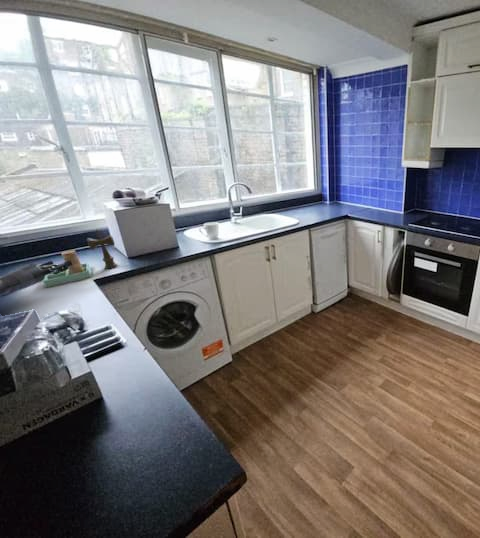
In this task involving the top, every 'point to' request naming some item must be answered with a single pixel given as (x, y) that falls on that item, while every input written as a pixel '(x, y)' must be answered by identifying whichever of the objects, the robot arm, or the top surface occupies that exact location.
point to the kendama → (103, 249)
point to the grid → (67, 276)
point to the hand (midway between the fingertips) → (61, 262)
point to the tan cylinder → (73, 262)
